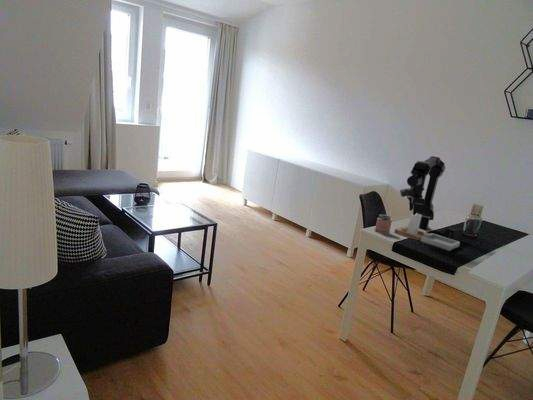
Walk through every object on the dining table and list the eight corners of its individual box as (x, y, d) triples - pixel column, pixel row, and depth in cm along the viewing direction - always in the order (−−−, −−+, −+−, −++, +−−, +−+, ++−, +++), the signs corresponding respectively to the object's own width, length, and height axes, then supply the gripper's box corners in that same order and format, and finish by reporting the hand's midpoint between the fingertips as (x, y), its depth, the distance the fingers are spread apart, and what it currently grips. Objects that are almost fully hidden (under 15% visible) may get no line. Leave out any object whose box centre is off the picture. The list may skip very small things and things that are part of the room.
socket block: (405, 229, 218) (406, 226, 218) (428, 237, 209) (429, 233, 208) (394, 232, 208) (395, 229, 208) (418, 240, 199) (419, 237, 198)
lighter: (388, 232, 207) (392, 215, 205) (389, 234, 204) (393, 216, 202) (374, 230, 208) (377, 213, 206) (375, 231, 205) (378, 214, 202)
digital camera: (451, 237, 214) (454, 226, 213) (460, 241, 210) (463, 229, 209) (441, 239, 208) (444, 227, 207) (451, 242, 204) (454, 230, 202)
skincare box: (409, 232, 212) (414, 212, 210) (417, 235, 210) (422, 214, 207) (405, 234, 208) (410, 213, 205) (413, 237, 205) (418, 216, 202)
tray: (431, 237, 208) (432, 233, 208) (458, 246, 198) (460, 242, 198) (420, 241, 198) (421, 236, 197) (449, 251, 188) (450, 246, 187)
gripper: (400, 180, 211) (394, 206, 215) (406, 186, 193) (400, 214, 197) (420, 182, 209) (414, 209, 213) (428, 189, 192) (421, 218, 195)
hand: (412, 212), depth 205 cm, fingers open, 9 cm apart
